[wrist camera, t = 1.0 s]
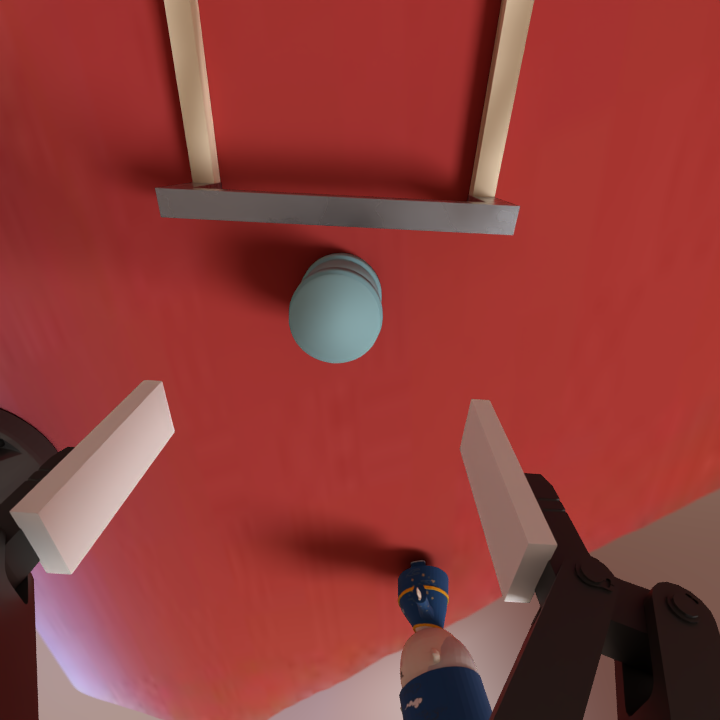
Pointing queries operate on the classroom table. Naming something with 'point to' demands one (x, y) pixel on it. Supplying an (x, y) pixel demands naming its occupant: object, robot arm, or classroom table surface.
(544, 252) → the classroom table surface
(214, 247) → the classroom table surface
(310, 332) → the grooved blue cylinder
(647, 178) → the classroom table surface
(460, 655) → the figurine
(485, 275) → the classroom table surface
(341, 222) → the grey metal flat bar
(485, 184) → the shelf frame
